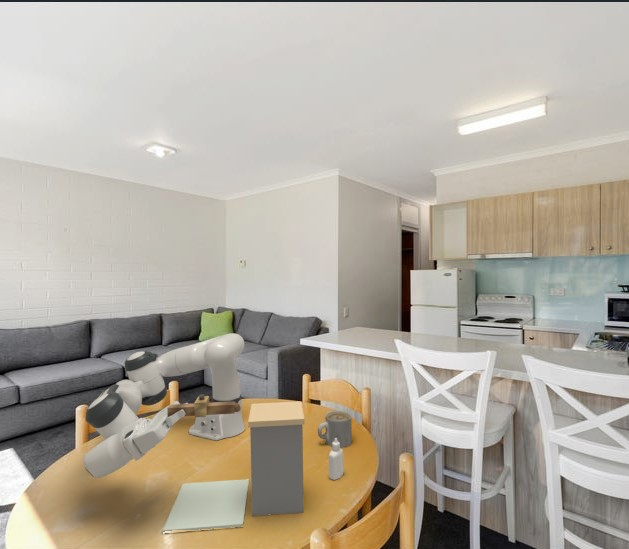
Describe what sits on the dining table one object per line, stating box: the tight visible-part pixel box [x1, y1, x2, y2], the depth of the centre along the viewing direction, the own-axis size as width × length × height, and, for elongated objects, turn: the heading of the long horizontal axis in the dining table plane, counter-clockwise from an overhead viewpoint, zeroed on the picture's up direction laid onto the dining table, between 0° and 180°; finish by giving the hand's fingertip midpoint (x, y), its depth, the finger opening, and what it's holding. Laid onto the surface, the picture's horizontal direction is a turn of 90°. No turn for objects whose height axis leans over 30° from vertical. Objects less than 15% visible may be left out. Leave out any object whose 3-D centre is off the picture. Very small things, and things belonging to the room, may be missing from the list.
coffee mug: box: [317, 410, 353, 449], centre depth 140 cm, size 13×10×10 cm
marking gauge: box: [167, 393, 240, 418], centre depth 102 cm, size 20×5×5 cm, turn 95°
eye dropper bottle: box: [328, 438, 345, 481], centre depth 117 cm, size 4×6×12 cm
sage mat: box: [162, 478, 250, 533], centre depth 103 cm, size 20×20×1 cm
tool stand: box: [247, 400, 305, 517], centre depth 105 cm, size 15×13×26 cm
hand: (186, 408), depth 102 cm, fingers closed on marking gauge, 2 cm apart
